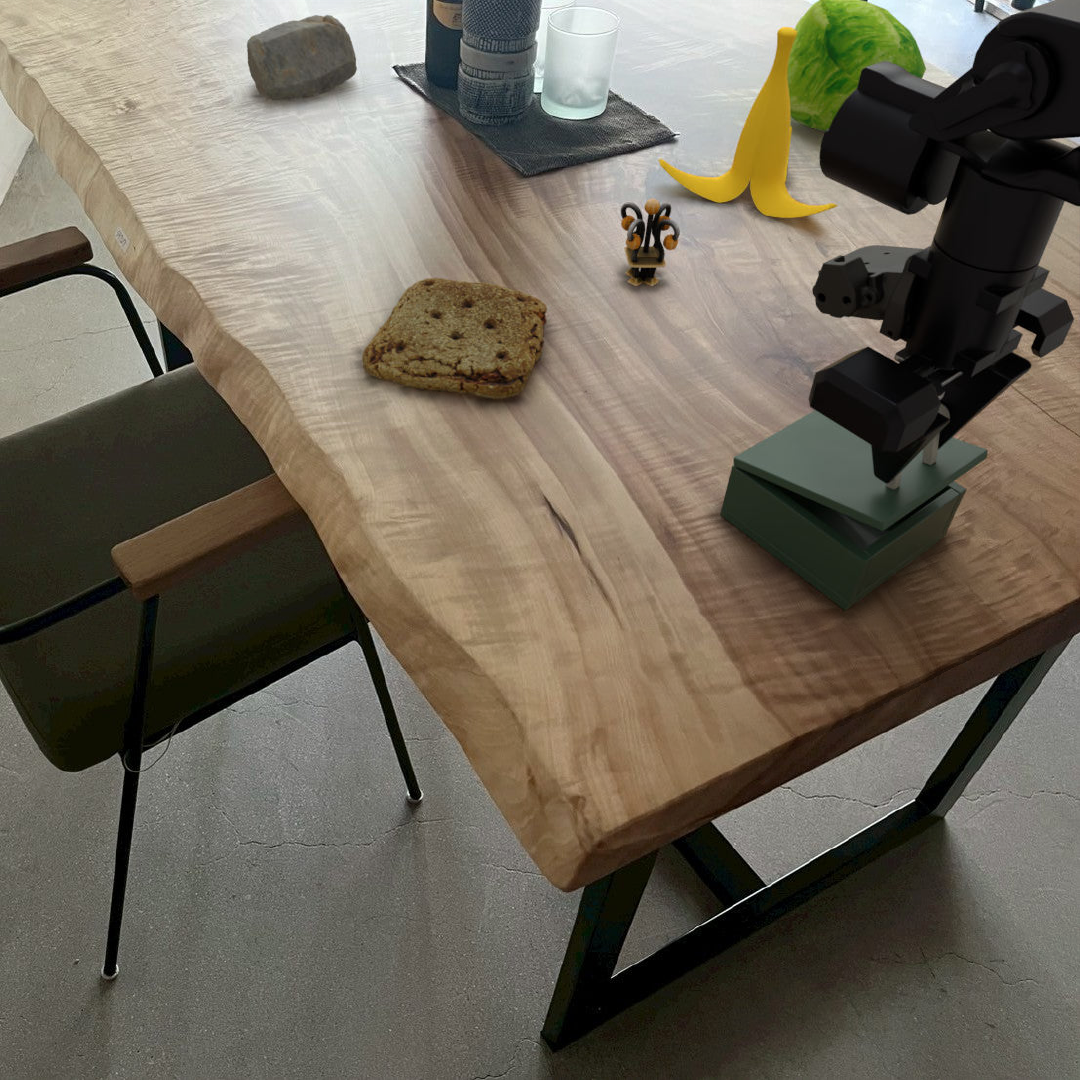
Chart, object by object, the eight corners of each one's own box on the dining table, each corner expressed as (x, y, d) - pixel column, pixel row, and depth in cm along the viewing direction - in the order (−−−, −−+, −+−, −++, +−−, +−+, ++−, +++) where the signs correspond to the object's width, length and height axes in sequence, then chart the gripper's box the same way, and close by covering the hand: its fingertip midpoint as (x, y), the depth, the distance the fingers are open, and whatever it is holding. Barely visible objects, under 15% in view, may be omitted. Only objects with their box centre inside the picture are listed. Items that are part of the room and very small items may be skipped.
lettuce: (832, 85, 134) (893, -20, 124) (893, 180, 123) (966, 73, 113) (735, 60, 129) (791, -52, 119) (790, 158, 117) (857, 43, 107)
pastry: (497, 273, 98) (497, 245, 96) (599, 373, 88) (603, 344, 86) (323, 320, 91) (320, 290, 89) (413, 435, 81) (412, 404, 79)
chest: (944, 537, 76) (967, 489, 73) (845, 611, 71) (865, 562, 67) (820, 453, 82) (836, 404, 79) (719, 514, 77) (731, 465, 73)
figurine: (667, 263, 101) (672, 184, 95) (676, 291, 97) (682, 211, 91) (618, 267, 100) (620, 188, 94) (625, 295, 97) (627, 215, 91)
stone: (271, 111, 119) (262, 40, 114) (242, 84, 124) (232, 15, 118) (367, 90, 125) (363, 21, 119) (336, 66, 129) (331, -2, 123)
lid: (986, 458, 70) (997, 393, 68) (882, 531, 65) (889, 464, 62) (837, 404, 79) (841, 344, 76) (733, 465, 73) (733, 403, 70)
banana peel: (649, 189, 111) (673, 24, 99) (778, 150, 119) (813, -7, 107) (757, 261, 102) (796, 88, 90) (887, 213, 110) (940, 50, 98)
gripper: (958, 151, 66) (891, 357, 77) (764, 237, 57) (719, 455, 68) (1123, 220, 60) (1025, 432, 71) (935, 327, 51) (856, 551, 62)
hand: (906, 462), depth 69 cm, fingers closed on lid, 5 cm apart
